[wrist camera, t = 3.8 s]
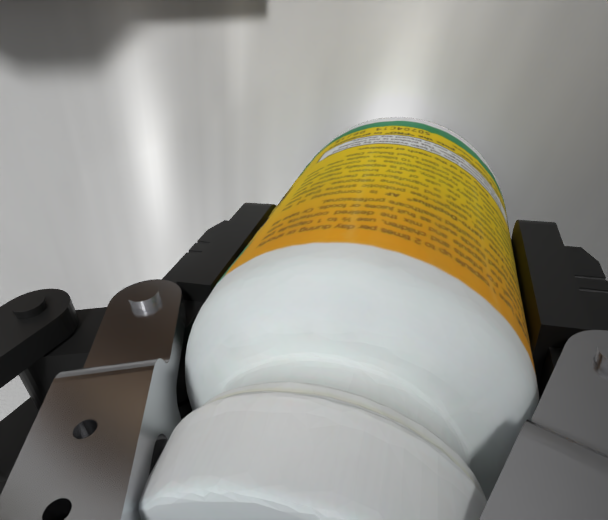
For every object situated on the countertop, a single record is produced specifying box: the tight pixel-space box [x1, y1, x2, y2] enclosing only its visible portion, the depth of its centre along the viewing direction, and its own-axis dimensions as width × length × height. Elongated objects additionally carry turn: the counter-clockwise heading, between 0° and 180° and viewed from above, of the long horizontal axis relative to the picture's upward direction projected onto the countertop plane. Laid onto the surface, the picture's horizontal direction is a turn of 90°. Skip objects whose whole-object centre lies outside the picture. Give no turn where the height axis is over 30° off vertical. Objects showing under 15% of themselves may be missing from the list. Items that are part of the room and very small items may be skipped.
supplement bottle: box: [139, 117, 539, 520], centre depth 9 cm, size 5×5×10 cm
